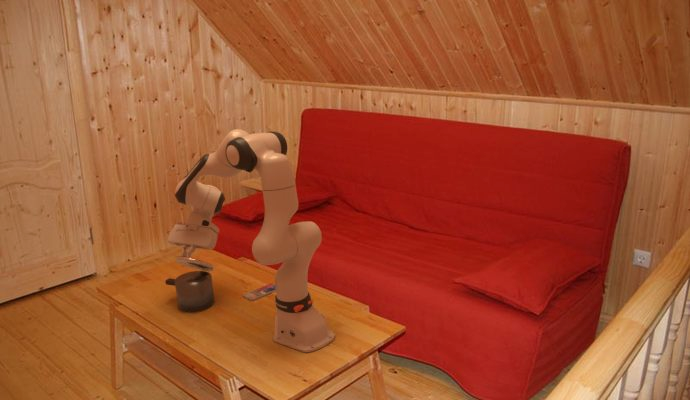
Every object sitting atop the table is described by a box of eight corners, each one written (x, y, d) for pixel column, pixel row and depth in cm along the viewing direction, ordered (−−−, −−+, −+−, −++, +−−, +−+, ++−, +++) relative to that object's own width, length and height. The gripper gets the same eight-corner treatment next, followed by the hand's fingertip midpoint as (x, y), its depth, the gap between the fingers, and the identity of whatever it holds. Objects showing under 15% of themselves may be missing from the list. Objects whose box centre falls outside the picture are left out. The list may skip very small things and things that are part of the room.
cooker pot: (181, 291, 233) (177, 267, 229) (221, 298, 225) (218, 273, 222) (158, 307, 220) (154, 281, 217) (200, 314, 213) (196, 288, 210)
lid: (190, 268, 228) (192, 262, 229) (221, 273, 223) (222, 266, 223) (167, 257, 215) (169, 250, 216) (199, 261, 209) (201, 255, 210)
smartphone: (241, 295, 226) (271, 282, 236) (241, 297, 226) (271, 284, 236) (251, 300, 221) (281, 287, 230) (251, 302, 221) (282, 289, 231)
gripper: (171, 218, 220) (158, 250, 214) (215, 223, 212) (202, 256, 207) (180, 225, 225) (168, 257, 220) (223, 230, 218) (211, 263, 212)
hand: (185, 257), depth 213 cm, fingers closed, pressing on lid
